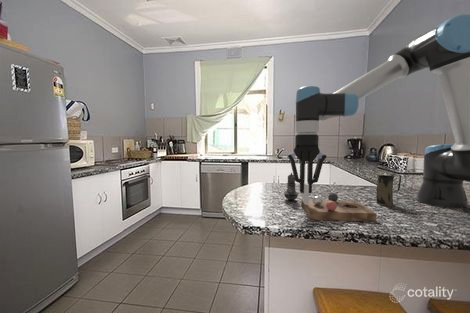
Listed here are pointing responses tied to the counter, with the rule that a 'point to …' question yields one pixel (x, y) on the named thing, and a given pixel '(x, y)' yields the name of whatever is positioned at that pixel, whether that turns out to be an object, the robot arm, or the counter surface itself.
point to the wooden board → (339, 211)
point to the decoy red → (331, 205)
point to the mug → (386, 189)
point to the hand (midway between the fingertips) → (305, 202)
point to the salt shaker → (291, 190)
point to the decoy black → (333, 197)
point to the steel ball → (317, 200)
